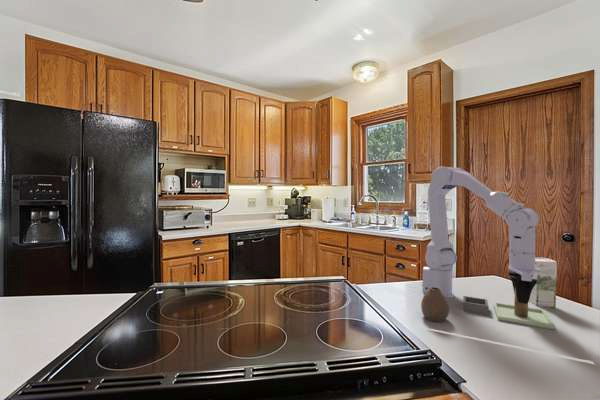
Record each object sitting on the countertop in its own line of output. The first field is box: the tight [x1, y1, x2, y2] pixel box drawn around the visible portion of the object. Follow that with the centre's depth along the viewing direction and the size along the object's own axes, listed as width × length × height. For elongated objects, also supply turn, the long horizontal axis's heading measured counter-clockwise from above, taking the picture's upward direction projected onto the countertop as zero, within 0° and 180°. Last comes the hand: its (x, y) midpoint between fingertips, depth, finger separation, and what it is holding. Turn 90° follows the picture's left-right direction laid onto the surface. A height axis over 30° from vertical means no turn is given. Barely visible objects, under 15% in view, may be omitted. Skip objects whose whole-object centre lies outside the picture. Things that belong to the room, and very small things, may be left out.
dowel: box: [514, 290, 529, 318], centre depth 81 cm, size 3×3×8 cm
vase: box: [420, 287, 450, 323], centre depth 80 cm, size 7×7×9 cm
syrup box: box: [528, 257, 558, 309], centre depth 92 cm, size 6×6×14 cm
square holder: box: [462, 295, 490, 316], centre depth 87 cm, size 6×6×3 cm
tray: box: [492, 301, 556, 331], centre depth 81 cm, size 12×12×2 cm
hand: (521, 300), depth 81 cm, fingers open, 4 cm apart
